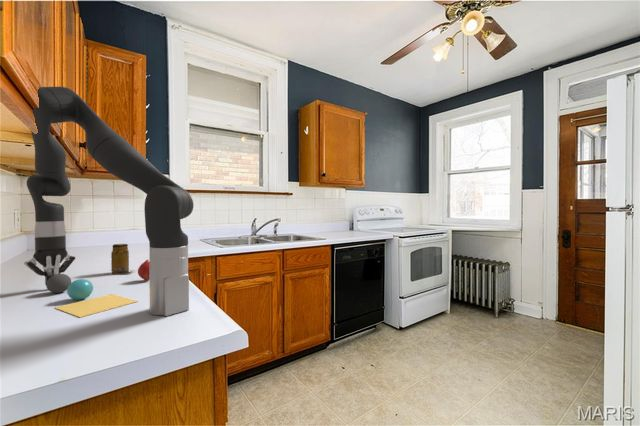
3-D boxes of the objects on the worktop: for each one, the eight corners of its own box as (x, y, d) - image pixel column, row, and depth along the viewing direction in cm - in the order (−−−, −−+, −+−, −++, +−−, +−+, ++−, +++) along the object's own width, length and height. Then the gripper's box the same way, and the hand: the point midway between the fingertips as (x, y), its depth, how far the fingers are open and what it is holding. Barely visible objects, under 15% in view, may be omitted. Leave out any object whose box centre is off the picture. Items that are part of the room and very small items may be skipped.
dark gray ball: (73, 292, 93) (73, 273, 93) (48, 296, 89) (48, 277, 89) (68, 288, 97) (68, 271, 97) (44, 292, 92) (44, 274, 92)
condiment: (115, 271, 124) (115, 243, 124) (137, 270, 126) (137, 243, 126) (106, 275, 117) (106, 245, 117) (129, 274, 119) (129, 245, 118)
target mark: (137, 301, 84) (137, 301, 84) (80, 317, 72) (80, 316, 72) (111, 294, 91) (111, 294, 91) (54, 308, 79) (54, 307, 79)
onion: (134, 281, 107) (133, 260, 107) (147, 278, 112) (147, 257, 112) (146, 283, 105) (146, 261, 105) (159, 279, 111) (159, 258, 110)
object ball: (95, 298, 87) (95, 279, 87) (70, 304, 82) (69, 283, 82) (90, 295, 90) (89, 276, 90) (64, 299, 86) (64, 279, 86)
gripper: (69, 233, 104) (70, 281, 104) (18, 236, 92) (19, 290, 93) (79, 233, 100) (81, 283, 101) (27, 237, 89) (29, 293, 89)
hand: (51, 286), depth 97 cm, fingers closed
